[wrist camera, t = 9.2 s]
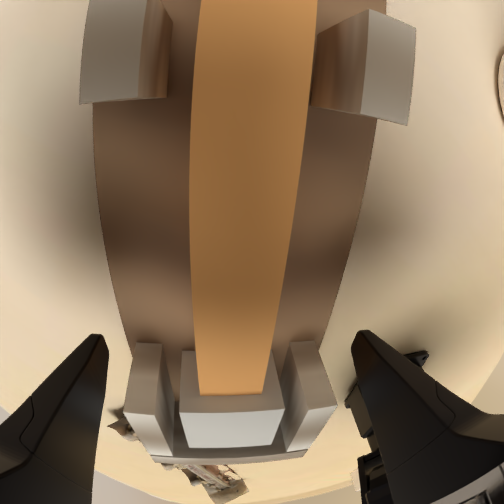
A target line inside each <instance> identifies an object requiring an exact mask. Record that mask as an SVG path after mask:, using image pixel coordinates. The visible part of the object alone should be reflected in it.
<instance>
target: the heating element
mask: <svg viewBox="0 0 504 504" xmlns="http://www.w3.org/2000/svg"><path fill="white" fill-rule="evenodd" d="M107 427H110V428H113V429H115V430H116V431H117V432H118V433H119V434H120V435H121V436H122V437H123V438H125V439H126V440H128V441H136V440H139V441H140V439H139V438H138V436H137V435H136V433H135V432H134V430H133V428H132V427H131V425H130V423H129V422H128V420H127V418H126V417H125V416H124V417H123V418H121V419H120V420H119V421H117V422H115V423H113V424H111V425H108V426H107ZM140 442H141V441H140ZM161 464H162V466H163V468H164V469H165V470H172V469H173V468H176V467H177V468H178V469H179V470H180V469H181V470H182V471H183V472H184V473H185V474H186V475H187V477H188V478H189V480H190V483H191V485H192V486H196V485H199V484H201V483H202V485H203V486H204V488H205V489H206V491H207V493H208V495H209V496H210V498H211V499H212V501H213V502H214V503H215V504H224V503H226V502H229V501H231V500H233V499H235V498H237V497H239V496H241V495H243V494H245V493H247V492H249V490H248V488H247V486H246V485H245V483H244V481H243V480H242V479H241V480H235V479H233V478H231V479H232V480H228V479H227V478H229V477H231V476H228V475H224V473H225V472H227V471H220V470H218V466H216V465H188V464H168V463H161ZM224 466H226V465H224ZM226 467H227V466H226ZM183 468H186V469H183ZM228 471H231V470H230V468H229V470H228ZM231 472H232V471H231ZM232 473H233V472H232ZM236 475H237V474H236Z"/></svg>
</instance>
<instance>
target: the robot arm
mask: <svg viewBox="0 0 504 504" xmlns="http://www.w3.org/2000/svg"><path fill="white" fill-rule="evenodd" d="M351 353H352V357H353V361H354V366H355V370H356V375H357V379H358V382H357V384H356V386H355V387H354V389H353V391H352V392H351V394H350V396H349V397H348V399H347V400H346V402H345V407H346V408H351V411H352V414H353V416H354V419H355V422H356V424H357V427H358V430H359V432H360V435H361V437H362V438H367V440H368V443H369V445H370V448H371V451H372V452H371V453H369V454H367V455H363V456H361V457H359V458H357V461H358V473H359V481H360V489H361V497H362V498H361V499H362V504H504V414H499V415H498V414H497V415H496V414H495V415H494V414H487V413H485V412H482V411H480V410H479V409H477V408H475V407H474V406H472V405H471V404H469V403H468V402H466V401H464V400H463V399H461V398H460V397H458V396H457V395H455V394H454V393H452V392H451V391H449V390H448V389H447V388H445V387H444V386H443V385H441V384H440V383H439V382H437V381H435V379H433V378H432V377H431V376H429V375H428V374H427V373H425V372H424V370H423V369H422V365H423V364H424V363H425V361H426V360H427V358H428V357H429V354H428V352H427V351H423V352H419V353H414V354H410V355H406V356H403V355H402V354H400V353H399V352H398V351H396V350H395V349H394V348H392V347H391V346H390V345H389V344H387V343H386V342H385V341H383V340H382V339H381V338H379V337H378V336H377V335H375V334H374V333H373V332H371V331H370V330H360V331H358V332H357V334H356V336H355V339H354V341H353V343H352V346H351ZM108 361H109V350H108V347H107V345H106V342H105V339H104V337H103V335H101V334H90V335H89V336H88V337H87V338H86V339H85V340H84V341H83V342H82V343H81V344H80V345H79V346H78V347H77V348H76V349H75V350H74V351H73V352H72V353H71V354H70V355H69V356H68V357H67V358H66V359H65V360H64V361H63V362H62V363H61V364H60V365H59V366H58V367H57V368H56V369H55V370H54V371H53V372H52V373H51V374H50V375H49V376H48V377H47V378H46V379H45V380H44V381H43V383H42V384H41V385H40V386H39V387H38V388H37V389H36V390H35V391H34V392H33V393H32V394H31V396H29V397H28V398H27V399H26V401H25V402H24V403H23V404H22V405H21V406H20V407H19V408H18V409H17V410H16V411H15V412H14V413H13V414H12V415H11V416H9V418H7V419H6V420H5V421H4V422H3V423H2V424H1V425H0V504H91V503H92V486H93V474H94V464H95V456H96V448H97V440H98V434H99V427H100V421H101V415H102V409H103V404H104V398H105V392H106V381H107V370H108Z"/></svg>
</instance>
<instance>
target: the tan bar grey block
mask: <svg viewBox="0 0 504 504" xmlns="http://www.w3.org/2000/svg"><path fill="white" fill-rule="evenodd" d="M317 1H318V0H201V7H200V15H199V23H198V32H197V42H196V53H195V64H194V77H193V92H192V109H191V131H190V166H189V229H190V265H191V288H192V306H193V322H194V336H195V348H196V351H182V362H181V380H180V403H179V414H180V417H181V421H182V425H183V428H184V432H185V435H186V439H187V442H188V445H189V448H231V447H249V446H262V445H271V444H272V441H273V439H274V436H275V434H276V431H277V429H278V426H279V424H280V421H281V418H282V416H283V413H284V410H285V406H284V402H283V398H282V393H281V389H280V384H279V380H278V375H277V371H276V366H275V362H274V358H273V353H272V349H271V345H272V340H273V335H274V329H275V324H276V318H277V313H278V308H279V302H280V296H281V291H282V285H283V279H284V273H285V267H286V261H287V255H288V249H289V243H290V236H291V230H292V224H293V217H294V210H295V203H296V197H297V190H298V182H299V175H300V168H301V160H302V153H303V145H304V137H305V128H306V120H307V111H308V102H309V93H310V84H311V74H312V64H313V53H314V41H315V29H316V16H317Z"/></svg>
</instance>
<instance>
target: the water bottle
mask: <svg viewBox="0 0 504 504" xmlns="http://www.w3.org/2000/svg"><path fill="white" fill-rule="evenodd" d="M498 88H499V97H500V103H501V107H502V111H503V115H504V54H503V56H502V59H501V62H500V66H499V74H498Z"/></svg>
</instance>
